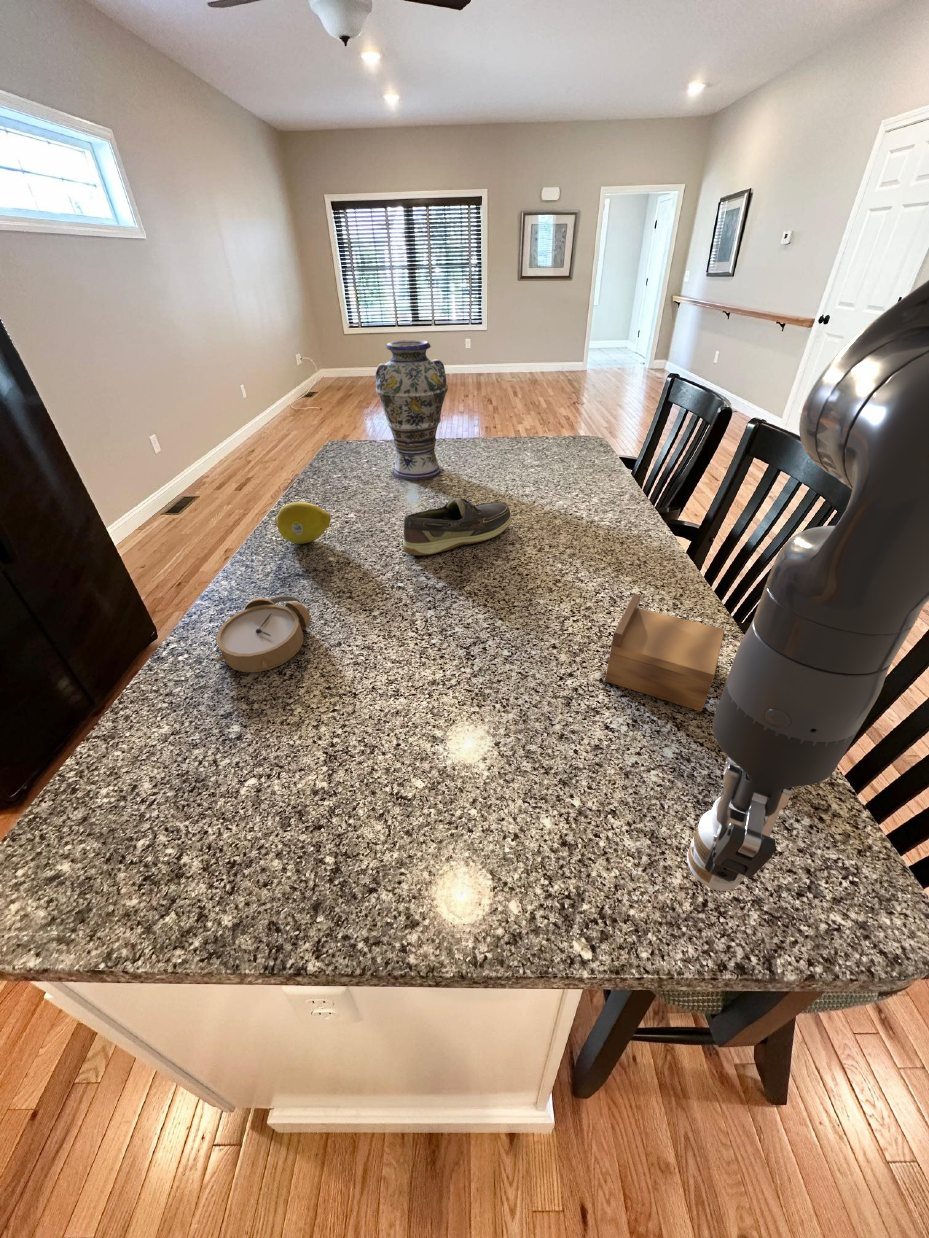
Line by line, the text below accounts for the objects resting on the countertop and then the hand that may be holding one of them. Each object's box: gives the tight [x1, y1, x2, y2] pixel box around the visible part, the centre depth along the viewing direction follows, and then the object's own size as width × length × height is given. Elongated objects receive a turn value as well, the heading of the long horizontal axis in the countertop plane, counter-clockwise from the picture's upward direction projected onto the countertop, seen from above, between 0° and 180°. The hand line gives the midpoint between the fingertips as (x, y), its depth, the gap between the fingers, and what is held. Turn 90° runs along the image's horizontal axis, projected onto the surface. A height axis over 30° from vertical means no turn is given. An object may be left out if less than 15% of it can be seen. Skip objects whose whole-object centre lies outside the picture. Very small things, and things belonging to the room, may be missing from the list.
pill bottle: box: [686, 796, 746, 892], centre depth 42 cm, size 4×4×8 cm
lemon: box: [274, 501, 331, 545], centre depth 100 cm, size 11×8×8 cm
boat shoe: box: [402, 497, 513, 556], centre depth 100 cm, size 9×25×8 cm, turn 130°
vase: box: [374, 339, 449, 481], centre depth 126 cm, size 17×17×30 cm
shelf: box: [604, 593, 726, 712], centre depth 66 cm, size 12×10×8 cm
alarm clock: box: [215, 595, 312, 673], centre depth 75 cm, size 11×5×15 cm
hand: (723, 844), depth 42 cm, fingers closed on pill bottle, 4 cm apart
